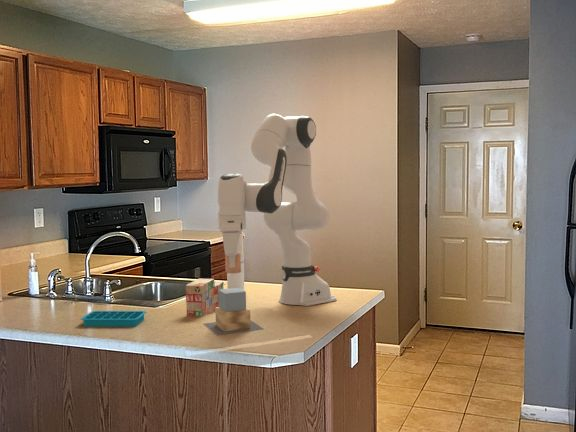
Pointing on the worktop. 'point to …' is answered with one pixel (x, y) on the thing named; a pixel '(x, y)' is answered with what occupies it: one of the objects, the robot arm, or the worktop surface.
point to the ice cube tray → (113, 318)
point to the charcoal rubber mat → (219, 331)
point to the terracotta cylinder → (237, 264)
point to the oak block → (232, 319)
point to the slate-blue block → (232, 299)
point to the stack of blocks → (202, 297)
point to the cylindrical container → (237, 278)
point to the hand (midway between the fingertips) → (233, 265)
